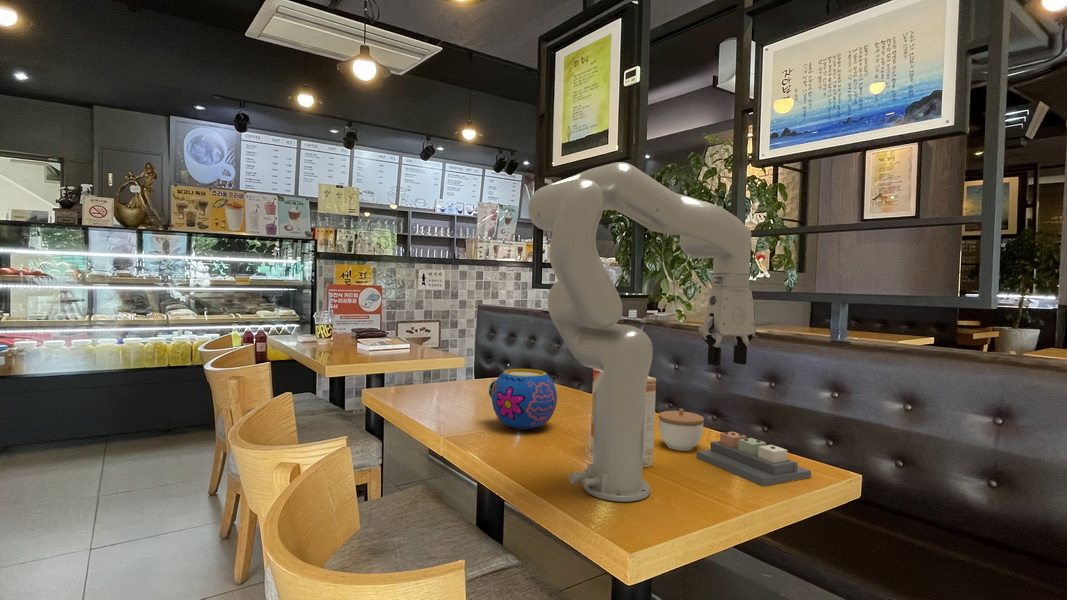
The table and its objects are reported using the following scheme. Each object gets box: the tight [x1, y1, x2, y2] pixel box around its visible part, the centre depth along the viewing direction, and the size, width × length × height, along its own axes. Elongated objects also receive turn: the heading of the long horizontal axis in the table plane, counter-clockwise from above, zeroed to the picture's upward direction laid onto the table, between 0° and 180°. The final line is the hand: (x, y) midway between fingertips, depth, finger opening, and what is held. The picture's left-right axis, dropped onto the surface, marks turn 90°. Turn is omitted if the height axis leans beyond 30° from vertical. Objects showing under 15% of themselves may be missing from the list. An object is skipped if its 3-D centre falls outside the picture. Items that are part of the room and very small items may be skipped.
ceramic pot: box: [488, 368, 558, 430], centre depth 148 cm, size 18×18×15 cm
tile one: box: [758, 444, 788, 464], centre depth 117 cm, size 4×4×3 cm
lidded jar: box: [658, 408, 705, 452], centre depth 135 cm, size 11×11×9 cm
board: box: [696, 440, 812, 487], centre depth 122 cm, size 14×19×4 cm
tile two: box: [738, 437, 767, 456], centre depth 121 cm, size 4×4×3 cm
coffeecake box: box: [589, 368, 657, 468], centre depth 125 cm, size 15×7×20 cm, turn 27°
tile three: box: [719, 431, 747, 448], centre depth 126 cm, size 4×4×3 cm
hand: (726, 363), depth 121 cm, fingers open, 6 cm apart
